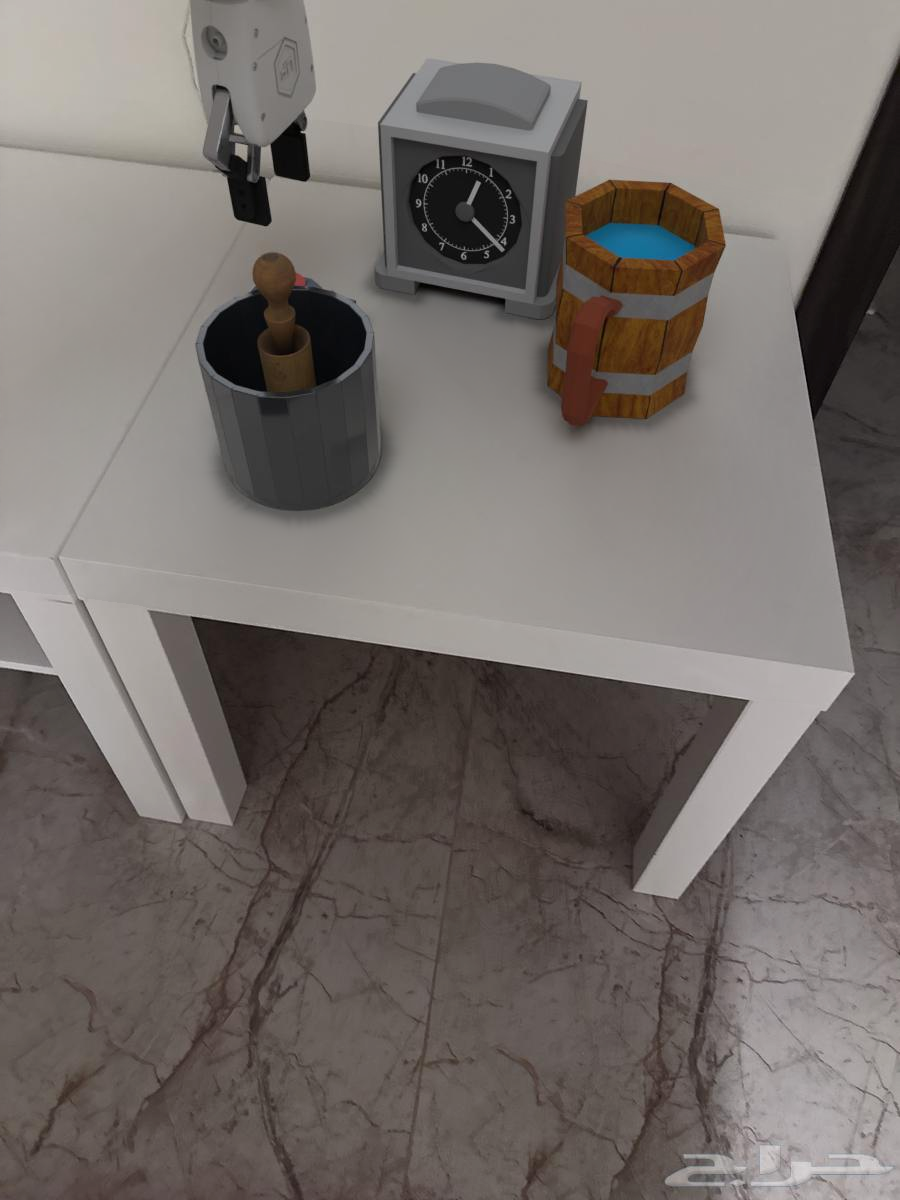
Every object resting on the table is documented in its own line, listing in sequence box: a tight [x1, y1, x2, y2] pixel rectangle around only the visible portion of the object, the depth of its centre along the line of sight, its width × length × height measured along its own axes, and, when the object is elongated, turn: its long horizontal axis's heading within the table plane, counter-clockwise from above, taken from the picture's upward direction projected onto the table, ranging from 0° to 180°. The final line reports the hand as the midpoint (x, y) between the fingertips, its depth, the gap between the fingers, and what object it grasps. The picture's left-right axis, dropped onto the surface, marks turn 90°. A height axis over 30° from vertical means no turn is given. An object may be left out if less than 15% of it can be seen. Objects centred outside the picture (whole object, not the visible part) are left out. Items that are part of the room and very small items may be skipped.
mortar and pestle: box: [252, 251, 316, 392], centre depth 71 cm, size 7×6×18 cm
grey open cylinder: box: [194, 285, 382, 511], centre depth 74 cm, size 13×13×12 cm
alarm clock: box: [374, 57, 589, 320], centre depth 88 cm, size 18×13×18 cm
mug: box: [546, 179, 727, 427], centre depth 78 cm, size 20×14×15 cm
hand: (273, 197), depth 78 cm, fingers open, 6 cm apart
